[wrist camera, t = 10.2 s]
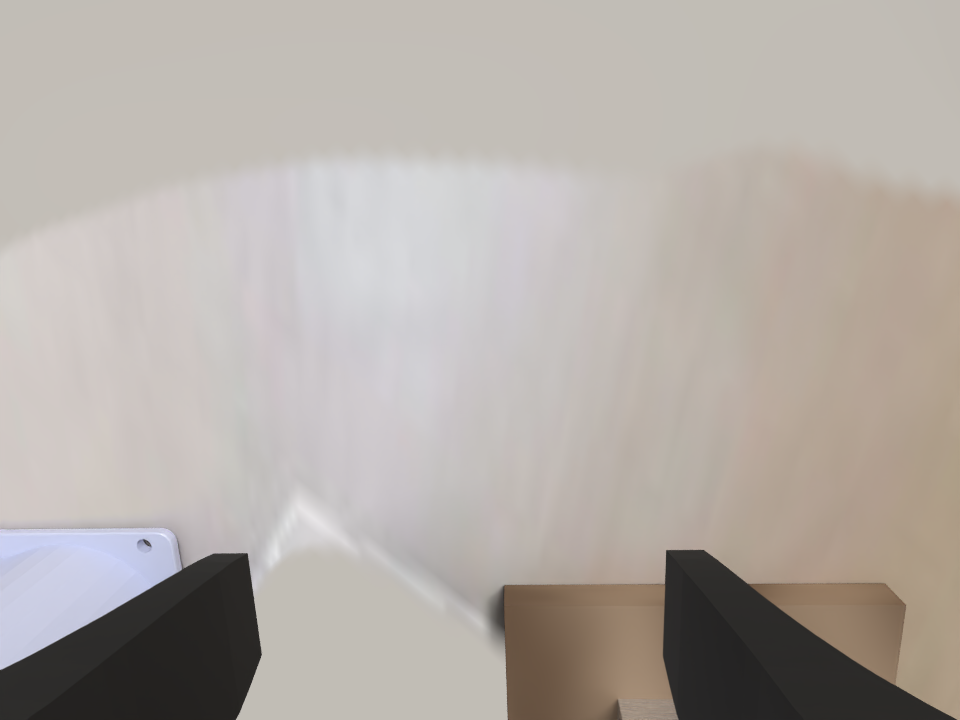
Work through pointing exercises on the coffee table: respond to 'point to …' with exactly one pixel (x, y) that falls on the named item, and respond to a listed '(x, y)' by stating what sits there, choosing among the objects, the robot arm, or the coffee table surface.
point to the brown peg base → (659, 641)
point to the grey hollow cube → (646, 709)
